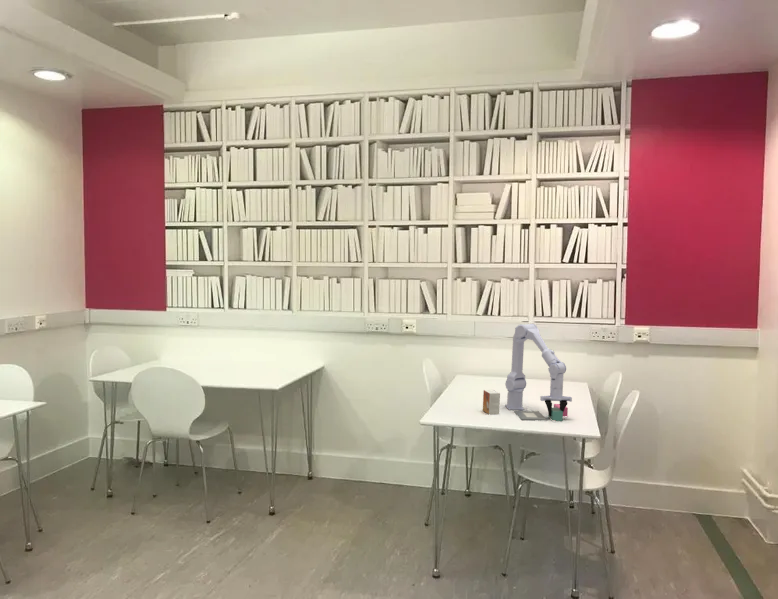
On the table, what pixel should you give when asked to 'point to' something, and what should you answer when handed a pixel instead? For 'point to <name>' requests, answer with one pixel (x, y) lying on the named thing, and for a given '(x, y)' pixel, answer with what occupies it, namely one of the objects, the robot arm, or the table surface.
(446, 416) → the table surface
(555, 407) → the raspberry brick
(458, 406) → the table surface
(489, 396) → the small box
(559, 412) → the teal brick
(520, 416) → the baseplate
